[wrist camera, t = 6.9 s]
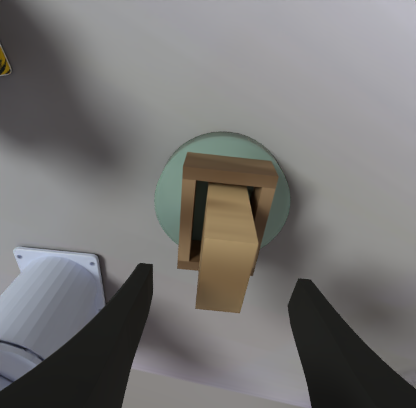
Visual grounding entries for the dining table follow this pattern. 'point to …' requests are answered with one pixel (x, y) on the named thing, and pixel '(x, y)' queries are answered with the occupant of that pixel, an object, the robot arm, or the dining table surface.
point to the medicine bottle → (4, 63)
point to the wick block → (226, 248)
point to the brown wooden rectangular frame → (230, 174)
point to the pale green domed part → (172, 184)
